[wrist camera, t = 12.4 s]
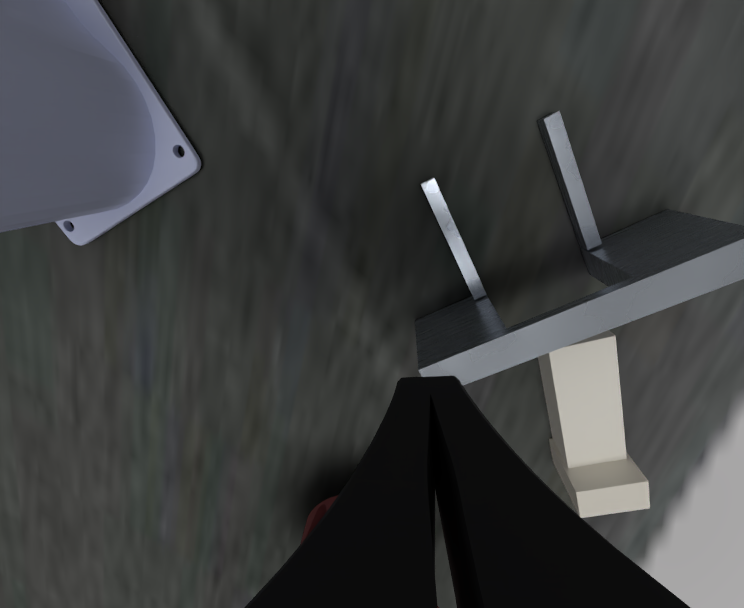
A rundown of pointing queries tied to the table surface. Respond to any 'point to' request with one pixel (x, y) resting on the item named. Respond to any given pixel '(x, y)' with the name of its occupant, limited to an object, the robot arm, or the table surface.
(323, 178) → the table surface
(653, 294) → the housing
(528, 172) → the table surface
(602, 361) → the cream l-shaped block
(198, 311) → the table surface
